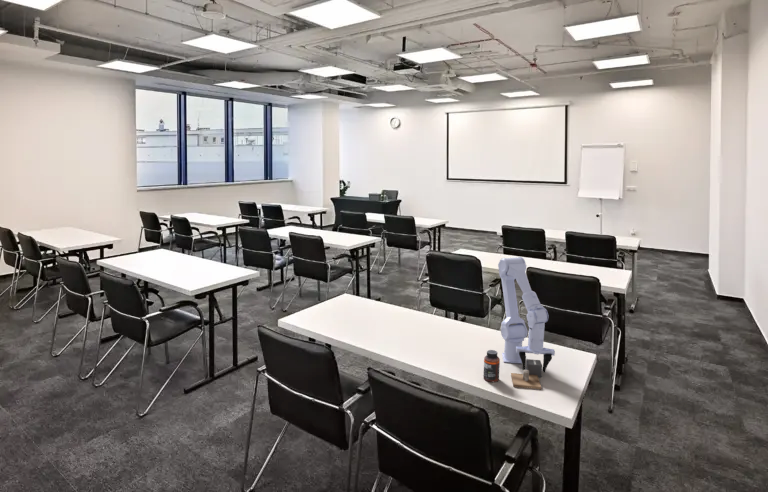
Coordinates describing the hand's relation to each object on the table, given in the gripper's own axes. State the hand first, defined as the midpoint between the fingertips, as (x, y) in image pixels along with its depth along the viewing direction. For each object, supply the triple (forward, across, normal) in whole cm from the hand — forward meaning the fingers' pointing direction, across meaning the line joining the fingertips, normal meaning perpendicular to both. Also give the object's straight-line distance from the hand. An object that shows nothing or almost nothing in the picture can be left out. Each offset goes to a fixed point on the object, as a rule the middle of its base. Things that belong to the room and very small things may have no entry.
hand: (533, 370), depth 187 cm
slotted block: (+2, 0, 0) cm, 2 cm away
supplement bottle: (+2, -17, -8) cm, 19 cm away
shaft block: (+2, -4, -8) cm, 9 cm away
